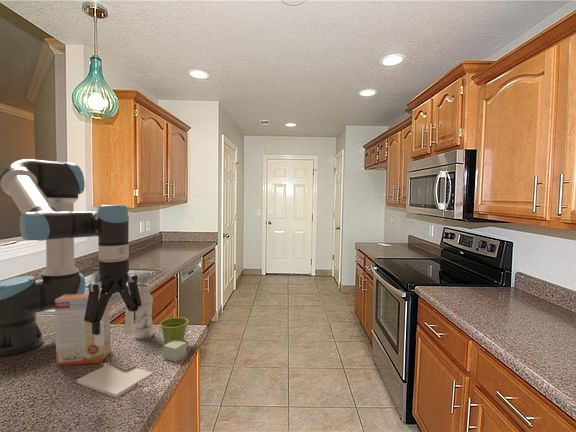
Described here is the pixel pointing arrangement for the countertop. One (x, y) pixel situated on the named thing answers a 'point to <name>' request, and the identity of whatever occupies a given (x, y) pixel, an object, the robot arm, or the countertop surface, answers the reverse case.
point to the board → (113, 379)
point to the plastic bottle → (144, 314)
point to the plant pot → (174, 329)
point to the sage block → (174, 350)
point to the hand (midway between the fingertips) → (115, 338)
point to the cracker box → (78, 332)
